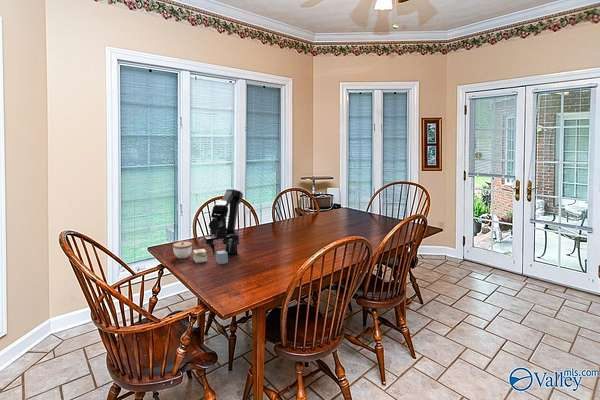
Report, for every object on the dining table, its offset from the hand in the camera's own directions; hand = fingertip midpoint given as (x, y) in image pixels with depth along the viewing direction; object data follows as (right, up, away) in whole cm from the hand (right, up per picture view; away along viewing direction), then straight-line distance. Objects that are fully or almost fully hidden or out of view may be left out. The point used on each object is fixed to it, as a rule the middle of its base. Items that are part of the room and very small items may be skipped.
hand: (221, 253), depth 204 cm
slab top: (-13, -2, +3) cm, 14 cm away
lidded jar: (-25, -4, +9) cm, 27 cm away
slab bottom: (-13, -5, +3) cm, 14 cm away
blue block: (0, -5, +1) cm, 5 cm away
